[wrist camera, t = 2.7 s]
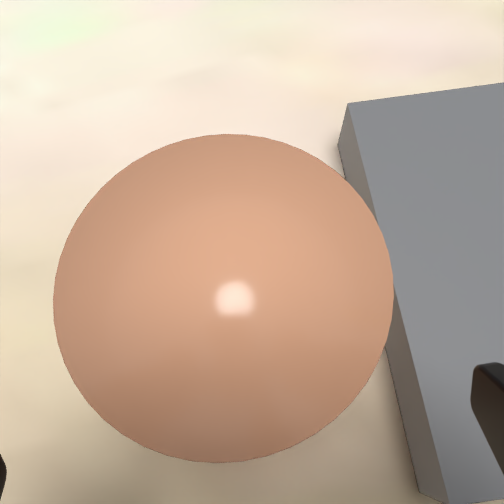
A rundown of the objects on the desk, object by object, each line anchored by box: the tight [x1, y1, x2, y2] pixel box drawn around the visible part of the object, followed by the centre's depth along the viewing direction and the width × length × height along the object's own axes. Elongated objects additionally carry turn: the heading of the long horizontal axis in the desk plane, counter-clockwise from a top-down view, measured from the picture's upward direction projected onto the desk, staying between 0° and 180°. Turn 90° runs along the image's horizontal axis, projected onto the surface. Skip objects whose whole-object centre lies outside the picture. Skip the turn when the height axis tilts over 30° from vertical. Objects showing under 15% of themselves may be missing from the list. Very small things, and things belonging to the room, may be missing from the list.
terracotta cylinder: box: [53, 134, 394, 463], centre depth 13 cm, size 6×6×11 cm
